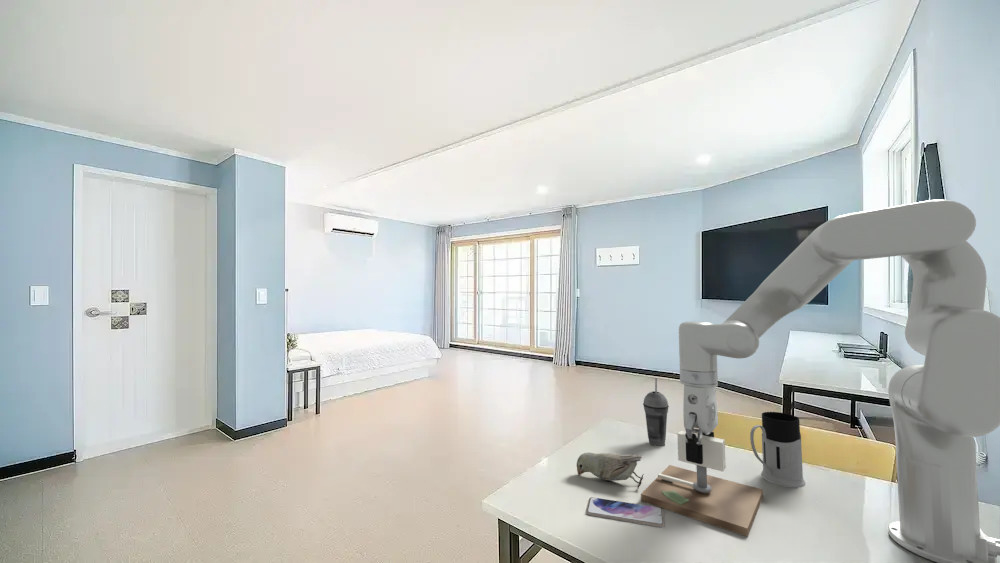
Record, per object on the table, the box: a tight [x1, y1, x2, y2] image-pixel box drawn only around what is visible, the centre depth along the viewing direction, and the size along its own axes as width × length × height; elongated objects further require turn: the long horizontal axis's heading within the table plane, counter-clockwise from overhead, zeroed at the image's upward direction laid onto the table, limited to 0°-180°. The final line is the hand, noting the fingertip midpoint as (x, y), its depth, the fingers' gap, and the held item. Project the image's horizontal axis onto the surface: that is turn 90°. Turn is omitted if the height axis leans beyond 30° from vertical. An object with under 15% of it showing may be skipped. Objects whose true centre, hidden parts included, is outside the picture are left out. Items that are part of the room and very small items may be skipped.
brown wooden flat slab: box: [640, 464, 764, 537], centre depth 86 cm, size 20×19×2 cm
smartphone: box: [585, 496, 665, 528], centre depth 81 cm, size 7×1×15 cm
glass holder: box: [749, 411, 806, 489], centre depth 94 cm, size 9×14×15 cm, turn 109°
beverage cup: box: [642, 377, 670, 448], centre depth 119 cm, size 7×7×20 cm
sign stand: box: [657, 430, 727, 493], centre depth 88 cm, size 14×4×12 cm, turn 49°
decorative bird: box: [576, 452, 645, 488], centre depth 95 cm, size 5×16×8 cm, turn 63°
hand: (700, 455), depth 87 cm, fingers open, 9 cm apart
